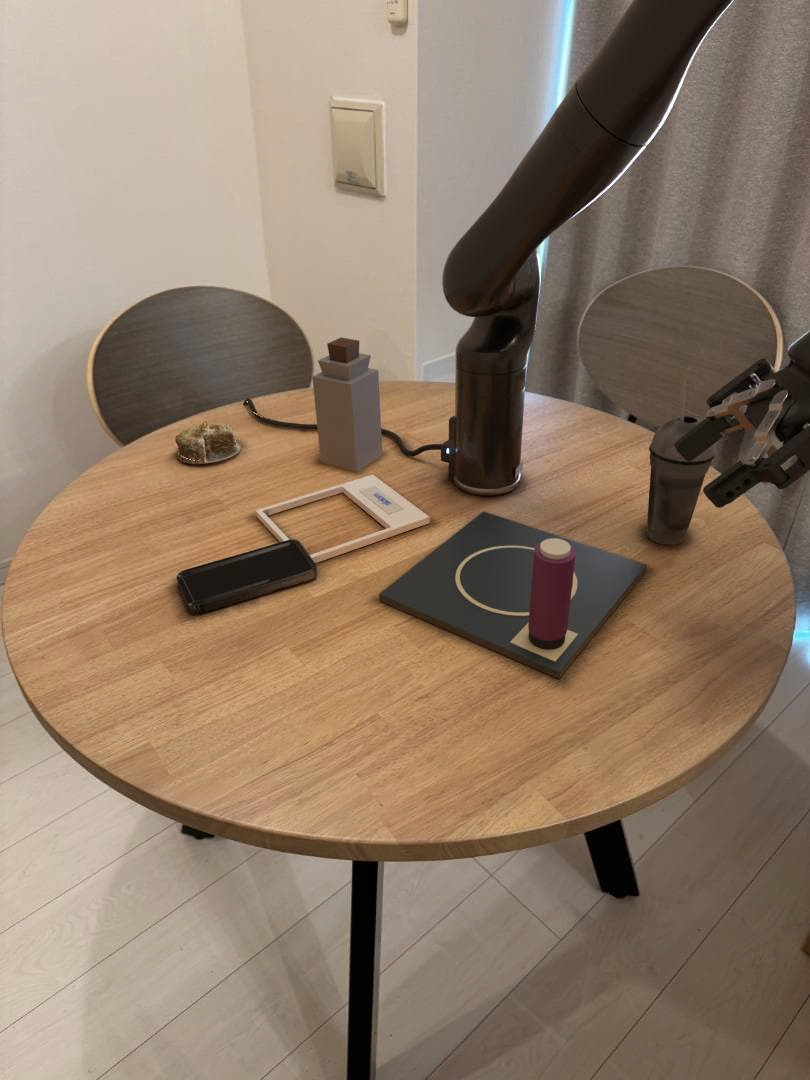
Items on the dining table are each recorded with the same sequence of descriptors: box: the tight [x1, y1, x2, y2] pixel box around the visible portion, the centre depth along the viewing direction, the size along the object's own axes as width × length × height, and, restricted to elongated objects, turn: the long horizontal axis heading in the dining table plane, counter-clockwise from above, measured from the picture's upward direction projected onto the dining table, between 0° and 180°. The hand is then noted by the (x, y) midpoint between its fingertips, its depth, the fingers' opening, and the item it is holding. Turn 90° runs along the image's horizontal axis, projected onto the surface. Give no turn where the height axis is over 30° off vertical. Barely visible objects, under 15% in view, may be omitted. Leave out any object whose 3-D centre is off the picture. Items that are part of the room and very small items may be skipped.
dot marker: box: [528, 538, 576, 650], centre depth 71 cm, size 4×4×11 cm
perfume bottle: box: [311, 337, 383, 473], centre depth 108 cm, size 7×7×18 cm
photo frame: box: [255, 474, 430, 564], centre depth 97 cm, size 15×1×18 cm
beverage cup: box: [646, 379, 715, 546], centre depth 86 cm, size 7×7×20 cm
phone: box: [175, 539, 318, 615], centre depth 85 cm, size 8×1×15 cm
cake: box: [174, 421, 242, 465], centre depth 115 cm, size 10×10×5 cm
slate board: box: [378, 511, 648, 680], centre depth 83 cm, size 22×22×1 cm
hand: (694, 475), depth 64 cm, fingers open, 8 cm apart
